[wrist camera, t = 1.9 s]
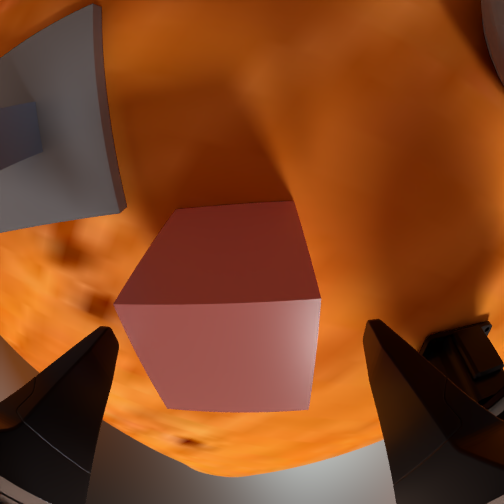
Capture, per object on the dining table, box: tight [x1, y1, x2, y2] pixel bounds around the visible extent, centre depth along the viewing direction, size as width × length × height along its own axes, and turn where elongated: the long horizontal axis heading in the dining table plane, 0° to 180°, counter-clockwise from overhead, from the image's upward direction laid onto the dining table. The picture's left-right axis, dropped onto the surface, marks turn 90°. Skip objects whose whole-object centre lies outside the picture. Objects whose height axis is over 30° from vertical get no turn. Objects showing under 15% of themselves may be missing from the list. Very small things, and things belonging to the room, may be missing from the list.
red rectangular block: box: [113, 201, 321, 412], centre depth 11 cm, size 5×5×7 cm
